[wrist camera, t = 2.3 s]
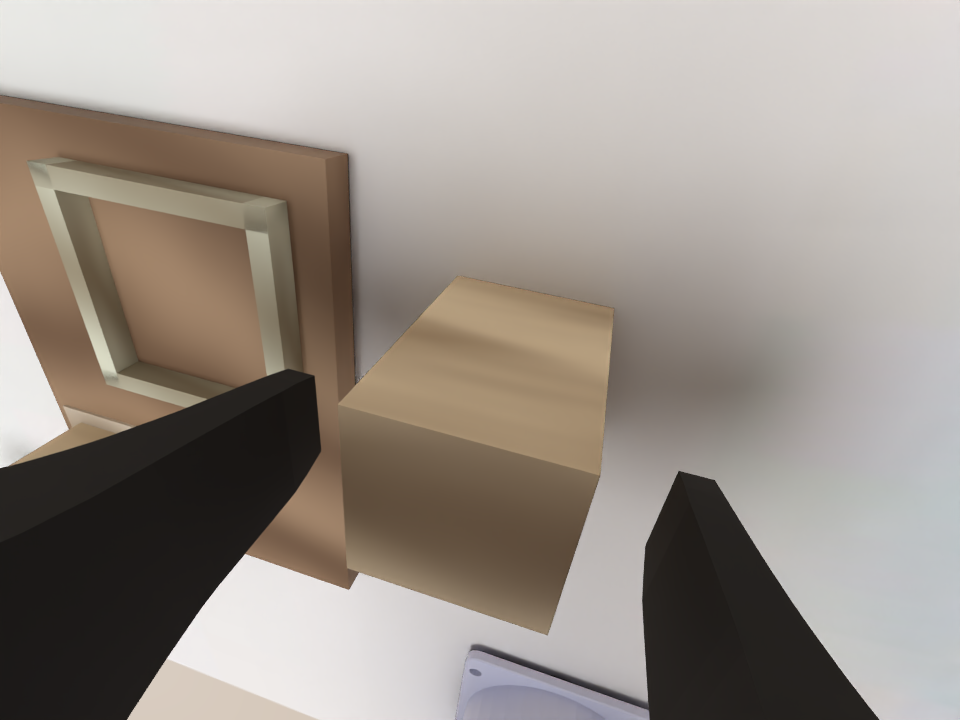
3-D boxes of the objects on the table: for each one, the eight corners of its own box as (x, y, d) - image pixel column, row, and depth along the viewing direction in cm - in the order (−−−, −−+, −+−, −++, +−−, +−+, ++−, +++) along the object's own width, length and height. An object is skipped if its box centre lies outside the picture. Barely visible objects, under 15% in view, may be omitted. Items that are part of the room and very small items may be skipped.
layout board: (361, 568, 20) (246, 770, 14) (121, 488, 22) (-66, 634, 16) (347, 153, 12) (50, 222, 6) (-36, 89, 14) (-539, 90, 8)
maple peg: (578, 434, 14) (547, 635, 9) (446, 400, 14) (347, 567, 9) (614, 308, 12) (600, 475, 7) (457, 275, 12) (337, 404, 7)
